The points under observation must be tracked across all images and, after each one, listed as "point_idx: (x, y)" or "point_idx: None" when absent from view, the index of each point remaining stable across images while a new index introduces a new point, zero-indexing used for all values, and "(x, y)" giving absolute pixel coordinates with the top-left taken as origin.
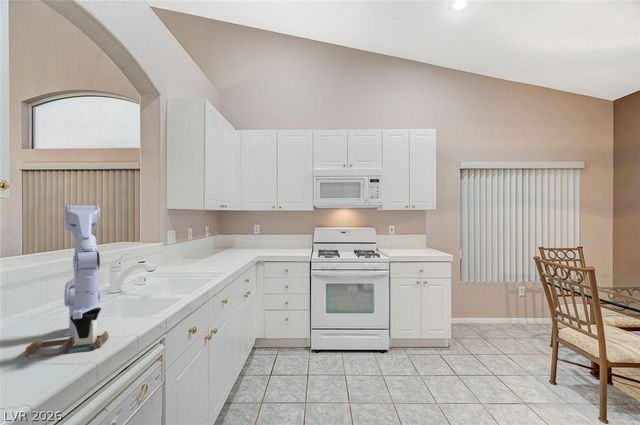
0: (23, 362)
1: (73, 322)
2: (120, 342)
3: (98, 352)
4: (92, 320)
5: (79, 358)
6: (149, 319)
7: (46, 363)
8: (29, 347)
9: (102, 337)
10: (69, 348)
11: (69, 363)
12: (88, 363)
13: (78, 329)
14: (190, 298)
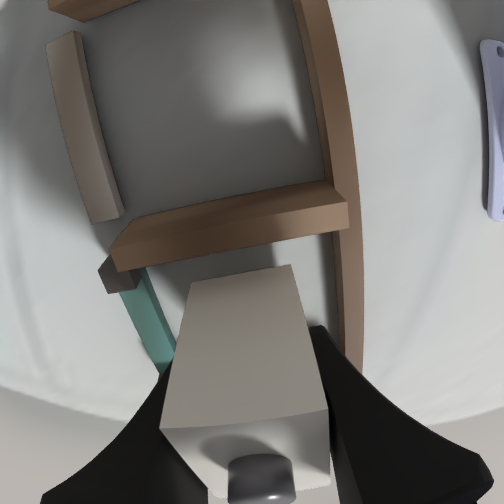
0: (16, 68)
1: (75, 477)
2: None
3: None
4: (313, 476)
5: (80, 350)
6: None
7: (8, 224)
8: (50, 8)
9: None
10: (112, 291)
11: (33, 333)
12: (54, 393)
13: (151, 416)
14: None
